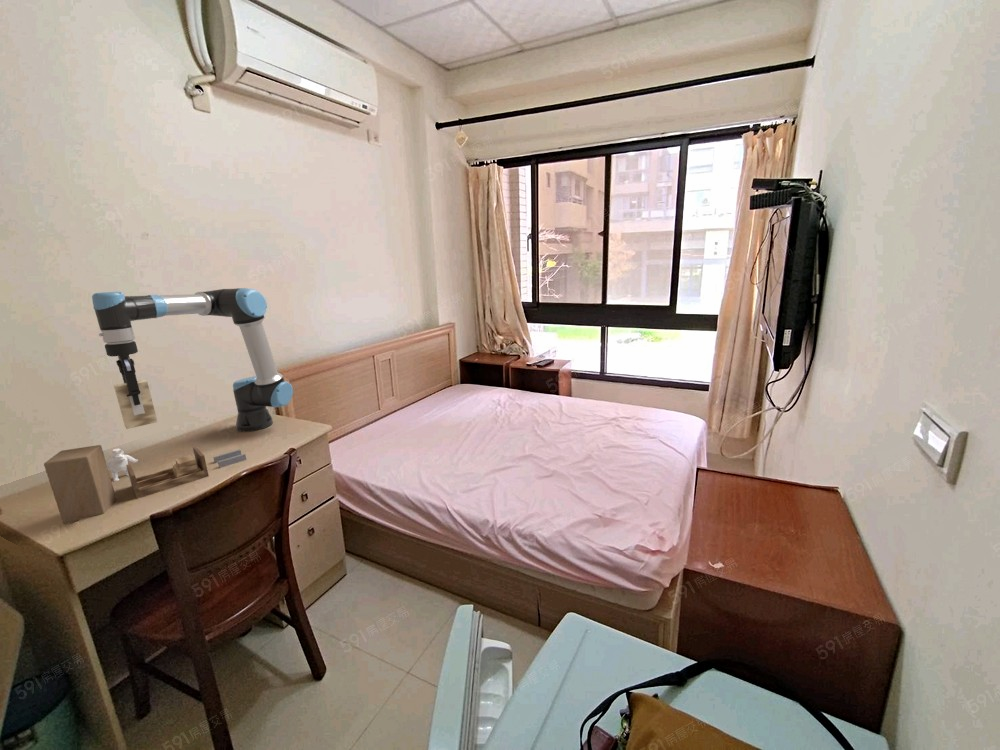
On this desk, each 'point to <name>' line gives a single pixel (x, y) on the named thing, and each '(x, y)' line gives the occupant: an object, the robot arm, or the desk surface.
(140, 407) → the robot arm
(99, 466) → the wooden block
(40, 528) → the desk surface
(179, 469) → the offcut stack
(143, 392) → the tan wood slab
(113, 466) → the figurine
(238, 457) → the holder
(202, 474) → the rack
